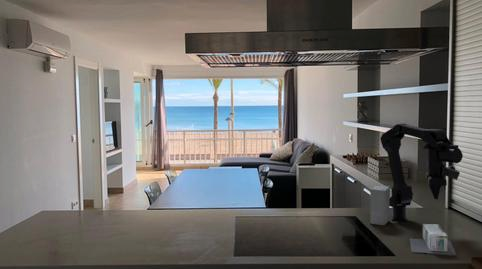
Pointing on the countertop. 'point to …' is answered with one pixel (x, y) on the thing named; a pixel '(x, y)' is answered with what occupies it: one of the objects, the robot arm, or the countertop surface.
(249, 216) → the countertop surface
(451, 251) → the light grey square plate
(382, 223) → the skincare box
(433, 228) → the syrup box
